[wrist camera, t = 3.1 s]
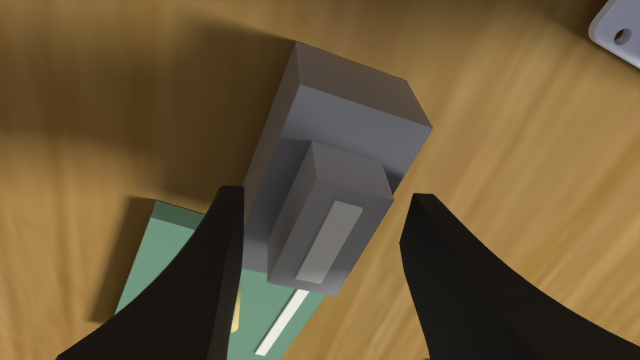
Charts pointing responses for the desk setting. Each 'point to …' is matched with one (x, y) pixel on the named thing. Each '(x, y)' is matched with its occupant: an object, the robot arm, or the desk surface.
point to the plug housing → (326, 168)
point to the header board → (252, 299)
